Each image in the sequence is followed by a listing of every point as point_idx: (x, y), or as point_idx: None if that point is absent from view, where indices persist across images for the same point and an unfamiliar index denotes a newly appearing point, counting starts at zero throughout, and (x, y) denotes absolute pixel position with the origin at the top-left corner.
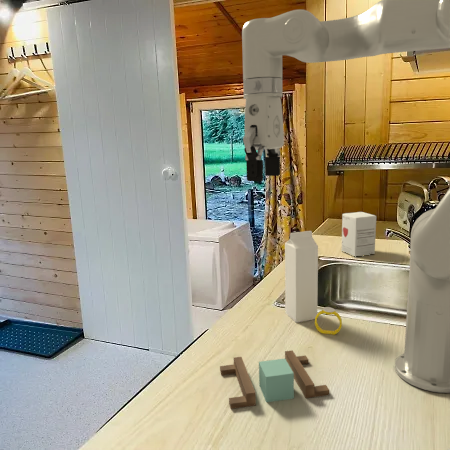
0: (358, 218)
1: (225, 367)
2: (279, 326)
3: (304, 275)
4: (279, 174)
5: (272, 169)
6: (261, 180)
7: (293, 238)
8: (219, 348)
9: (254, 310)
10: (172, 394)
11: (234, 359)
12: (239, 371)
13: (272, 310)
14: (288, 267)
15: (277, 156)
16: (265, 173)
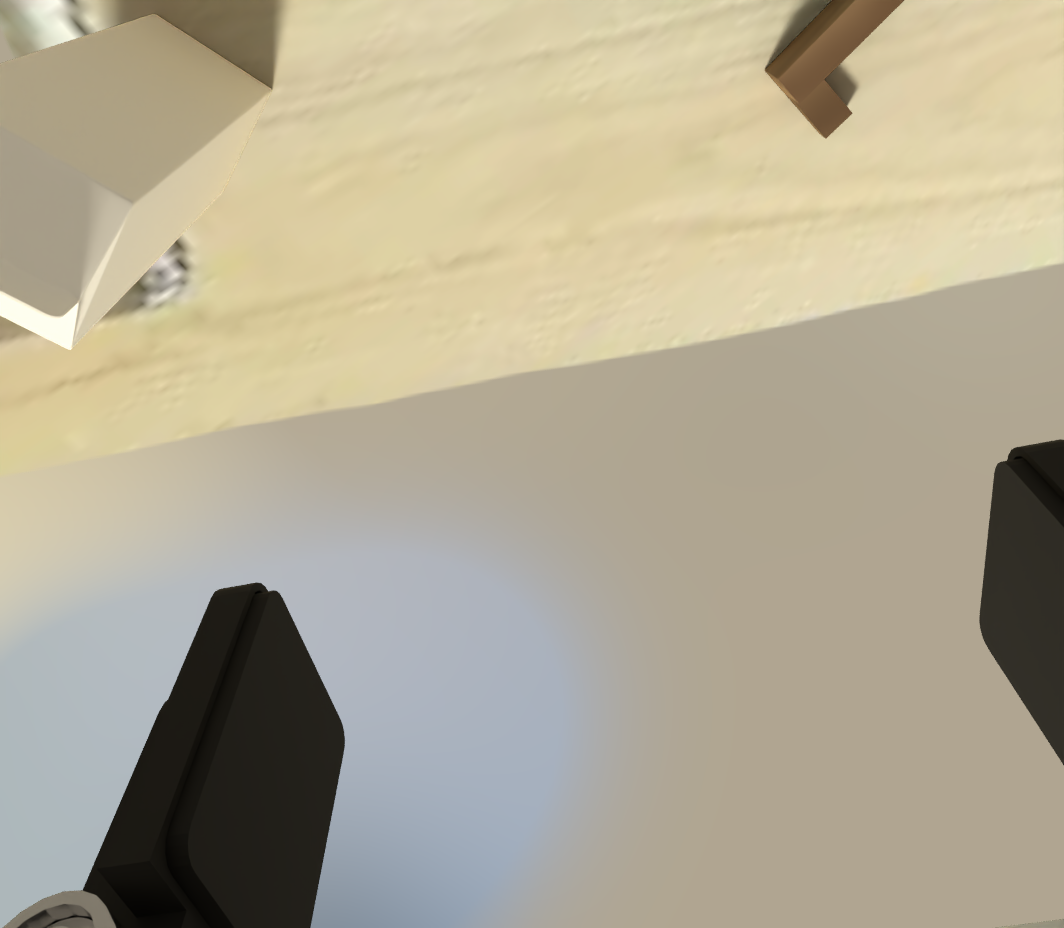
0: None
1: (825, 112)
2: (358, 140)
3: (141, 111)
4: (246, 586)
5: (289, 728)
6: (1062, 445)
7: (49, 285)
8: (675, 244)
9: (300, 330)
10: (1019, 179)
11: (811, 90)
12: (889, 10)
13: (240, 262)
14: (150, 245)
15: (94, 917)
16: (340, 754)
